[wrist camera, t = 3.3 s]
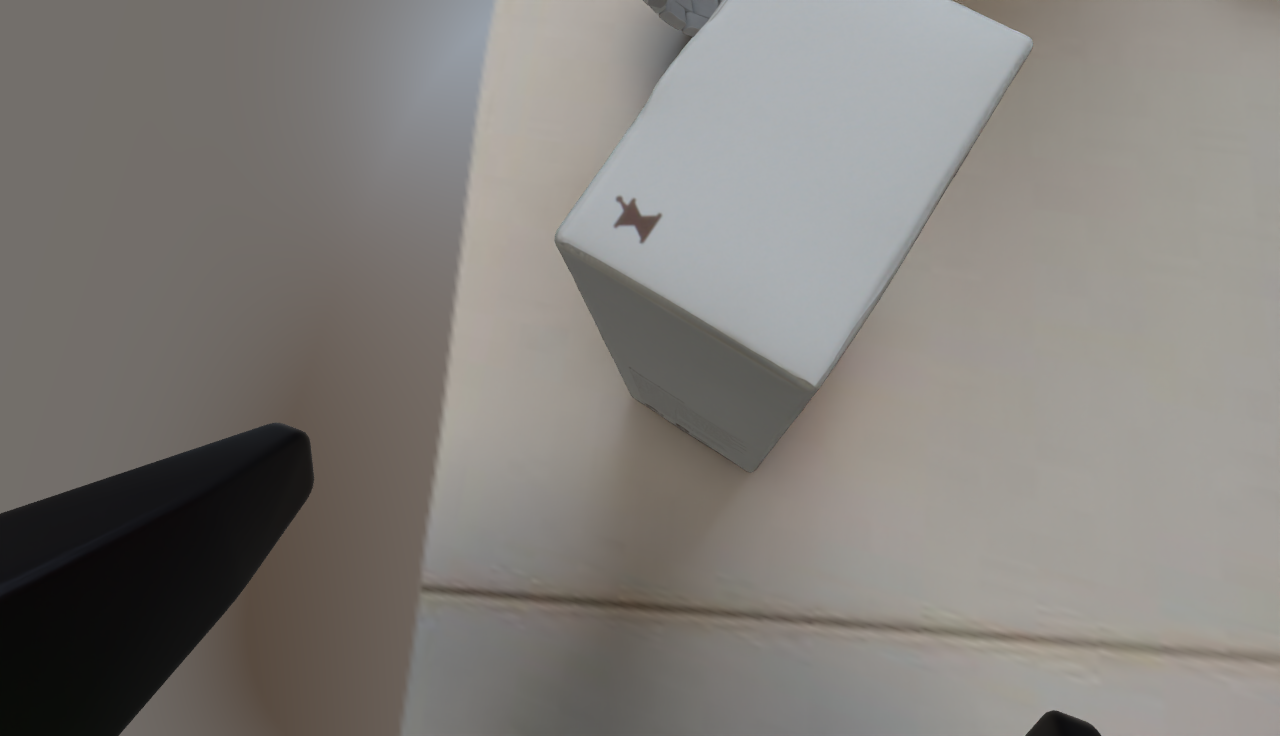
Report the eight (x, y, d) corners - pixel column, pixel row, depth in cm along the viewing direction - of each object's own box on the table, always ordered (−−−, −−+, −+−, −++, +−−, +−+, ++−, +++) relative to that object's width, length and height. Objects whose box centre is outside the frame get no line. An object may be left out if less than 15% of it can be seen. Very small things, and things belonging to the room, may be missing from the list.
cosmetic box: (754, 479, 21) (813, 409, 9) (628, 397, 22) (533, 237, 10) (866, 302, 22) (1051, 30, 10) (740, 230, 22) (775, -99, 11)
